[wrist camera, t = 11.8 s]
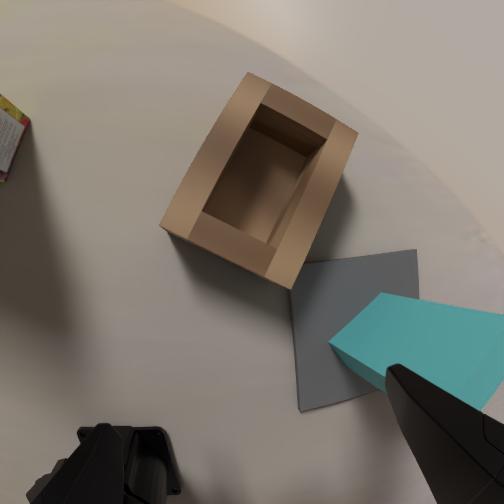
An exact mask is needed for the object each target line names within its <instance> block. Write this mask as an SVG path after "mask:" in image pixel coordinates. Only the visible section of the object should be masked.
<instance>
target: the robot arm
mask: <svg viewBox="0 0 504 504" xmlns="http://www.w3.org/2000/svg"><path fill="white" fill-rule="evenodd" d="M385 388H386V392H387V394H388V397H389V399H390V402H391V405H392V407H393V410H394V413H395V416H396V418H397V421H398V424H399V426H400V429H401V431H402V433H403V435H404V437H405V439H406V441H407V443H408V445H409V447H410V449H411V451H412V453H413V455H414V457H415V459H416V461H417V463H418V465H419V467H420V469H421V471H422V473H423V475H424V477H425V479H426V481H427V483H428V485H429V487H430V489H431V491H432V494H433V496H434V498H435V500H436V502H437V504H504V424H502V423H500V422H499V421H497V420H495V419H493V418H491V417H489V416H488V415H486V414H483V413H482V412H481V411H479V410H477V409H476V408H474V407H472V406H470V405H469V404H467V403H465V402H464V401H462V400H460V399H459V398H457V397H455V396H454V395H452V394H450V393H449V392H447V391H445V390H443V389H442V388H440V387H438V386H437V385H435V384H433V383H432V382H430V381H428V380H427V379H425V378H423V377H422V376H420V375H418V374H417V373H415V372H413V371H412V370H410V369H408V368H407V367H405V366H404V365H402V364H400V363H396V364H394V365H391V366H388V367H387V369H386V376H385ZM82 432H83V433H85V434H86V435H84V434H82ZM155 432H158V433H160V435H156V434H155ZM77 436H78V438H79V441H80V443H81V444H80V445H79V446H78V447H77V449H76V450H75V451H74V452H73V453H72V454H71V456H70V457H69V458H68V459H67V458H65V459H61V460H58V462H57V463H56V465H55V467H54V468H53V470H52V472H51V473H50V474H45V475H44V476H42V477H41V478H39V479H38V480H36V482H35V485H34V486H33V487H32V488H31V489H30V490H29V491H28V492H27V493H26V497H27V499H28V501H29V503H30V504H166V499H167V495H178V494H180V493H181V485H180V482H179V478H178V475H177V472H176V469H175V466H174V463H173V459H172V456H171V452H170V449H169V445H168V442H167V438H166V435H165V431H164V430H163V429H162V428H161V427H157V426H154V427H132V426H112V425H111V424H109V423H99V424H97V425H96V426H95V427H80V428H79V429H78V431H77ZM174 489H177V490H174Z"/></svg>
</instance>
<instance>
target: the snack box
mask: <svg viewBox="0 0 504 504" xmlns="http://www.w3.org/2000/svg"><path fill="white" fill-rule="evenodd" d="M29 120H30V119H29V117H27V116H26V115H25V114H24V113H22V112H21V111H20V110H19V109H18V108H16V107H15V106H14V105H13V104H12V103H11V102H9V101H8V100H7V99H6V98H5V97H3V96H2V95H1V94H0V182H6V180H7V175H8V173H9V170H10V167H11V164H12V161H13V158H14V156H15V153H16V151H17V148H18V146H19V143H20V141H21V138H22V136H23V134H24V131H25V129H26V127H27V124H28V122H29Z"/></svg>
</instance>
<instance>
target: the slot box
mask: <svg viewBox="0 0 504 504" xmlns="http://www.w3.org/2000/svg"><path fill="white" fill-rule="evenodd" d="M357 136H358V132H356V131H355V130H353V129H352V128H350V127H348V126H347V125H345V124H344V123H342V122H340V121H339V120H337V119H335V118H334V117H332V116H330V115H329V114H327V113H325V112H324V111H322V110H320V109H319V108H317V107H315V106H313V105H312V104H310V103H308V102H306V101H304V100H303V99H301V98H299V97H297V96H295V95H293V94H291V93H290V92H288V91H286V90H284V89H282V88H280V87H278V86H276V85H274V84H272V83H270V82H268V81H266V80H264V79H262V78H260V77H258V76H256V75H254V74H251V73H249V72H247V74H246V75H245V77H244V78H243V80H242V81H241V83H240V84H239V86H238V87H237V89H236V90H235V92H234V93H233V95H232V97H231V98H230V100H229V101H228V103H227V105H226V106H225V108H224V109H223V111H222V113H221V114H220V116H219V117H218V119H217V121H216V122H215V124H214V126H213V127H212V129H211V131H210V132H209V134H208V136H207V138H206V139H205V141H204V143H203V144H202V146H201V148H200V150H199V151H198V153H197V155H196V157H195V158H194V160H193V162H192V164H191V166H190V167H189V169H188V171H187V173H186V175H185V176H184V178H183V180H182V182H181V184H180V186H179V188H178V189H177V191H176V193H175V195H174V197H173V199H172V201H171V203H170V205H169V207H168V209H167V211H166V213H165V215H164V217H163V219H162V221H161V223H160V225H159V226H160V227H162V228H163V229H164V230H166V231H167V232H169V233H171V234H173V235H175V236H177V237H179V238H181V239H183V240H185V241H187V242H189V243H191V244H193V245H195V246H197V247H199V248H201V249H203V250H205V251H207V252H209V253H211V254H213V255H215V256H217V257H219V258H221V259H223V260H226V261H228V262H230V263H232V264H234V265H236V266H238V267H240V268H242V269H244V270H246V271H248V272H250V273H252V274H254V275H256V276H259V277H261V278H263V279H265V280H267V281H269V282H271V283H273V284H276V285H279V286H282V287H284V288H287V289H290V290H291V288H292V286H293V284H294V282H295V280H296V278H297V276H298V273H299V271H300V269H301V267H302V265H303V263H304V260H305V258H306V256H307V254H308V252H309V249H310V247H311V245H312V243H313V240H314V238H315V236H316V234H317V231H318V229H319V227H320V225H321V222H322V220H323V218H324V215H325V213H326V211H327V209H328V206H329V204H330V202H331V199H332V197H333V194H334V192H335V190H336V187H337V185H338V183H339V180H340V178H341V175H342V173H343V171H344V168H345V166H346V163H347V161H348V158H349V156H350V153H351V151H352V148H353V146H354V143H355V141H356V138H357Z"/></svg>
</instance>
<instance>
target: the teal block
mask: <svg viewBox="0 0 504 504" xmlns="http://www.w3.org/2000/svg"><path fill="white" fill-rule="evenodd" d="M328 342H329V343H330V345H331V346H332V347H333V349H334V350H335V351H336V353H337V354H338V355H339V357H340V358H341V359H342V361H343V362H344V363H345V365H346V366H347V367H348V368H349V369H351V370H352V371H354V372H355V373H357V374H358V375H359V376H361V377H362V378H364V379H365V380H367V381H368V382H369V383H371V384H372V385H374V386H375V387H377V388H378V389H380V390H381V391H382V392H384V393H385V394H387V392H386V388H385V376H386V369H387V367H388V366H391V365H394V364H396V363H400V364H402V365H404V366H405V367H407V368H408V369H410V370H412V371H413V372H415V373H417V374H418V375H420V376H422V377H423V378H425V379H427V380H428V381H430V382H432V383H433V384H435V385H437V386H438V387H440V388H442V389H443V390H445V391H447V392H449V393H450V394H452V395H454V396H455V397H457V398H459V399H460V400H462V401H464V402H465V403H467V404H469V405H470V406H472V407H474V408H476V409H477V410H479V411H481V410H482V408H483V407H484V406H485V404H486V403H487V402H488V400H489V399H490V398H491V396H492V395H493V394H494V392H495V391H496V389H497V388H498V387H499V385H500V384H501V382H502V381H503V379H504V315H501V314H496V313H490V312H484V311H479V310H473V309H468V308H462V307H457V306H451V305H446V304H440V303H435V302H429V301H424V300H419V299H413V298H408V297H403V296H398V295H392V294H387V293H382V292H381V293H380V294H379V295H378V296H377V297H376V298H375V299H374V300H373V301H372V302H371V303H370V304H369V305H368V306H367V307H366V308H365V309H364V310H362V311H361V312H360V313H359V314H358V315H357V316H356V317H355V318H354V319H353V320H352V321H351V322H350V323H348V324H347V325H346V326H345V327H344V328H343V329H342V330H341V331H340V332H339V333H337V334H336V335H335V336H334V337H333V338H332V339H331V340H330V341H328ZM387 395H388V394H387Z"/></svg>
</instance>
